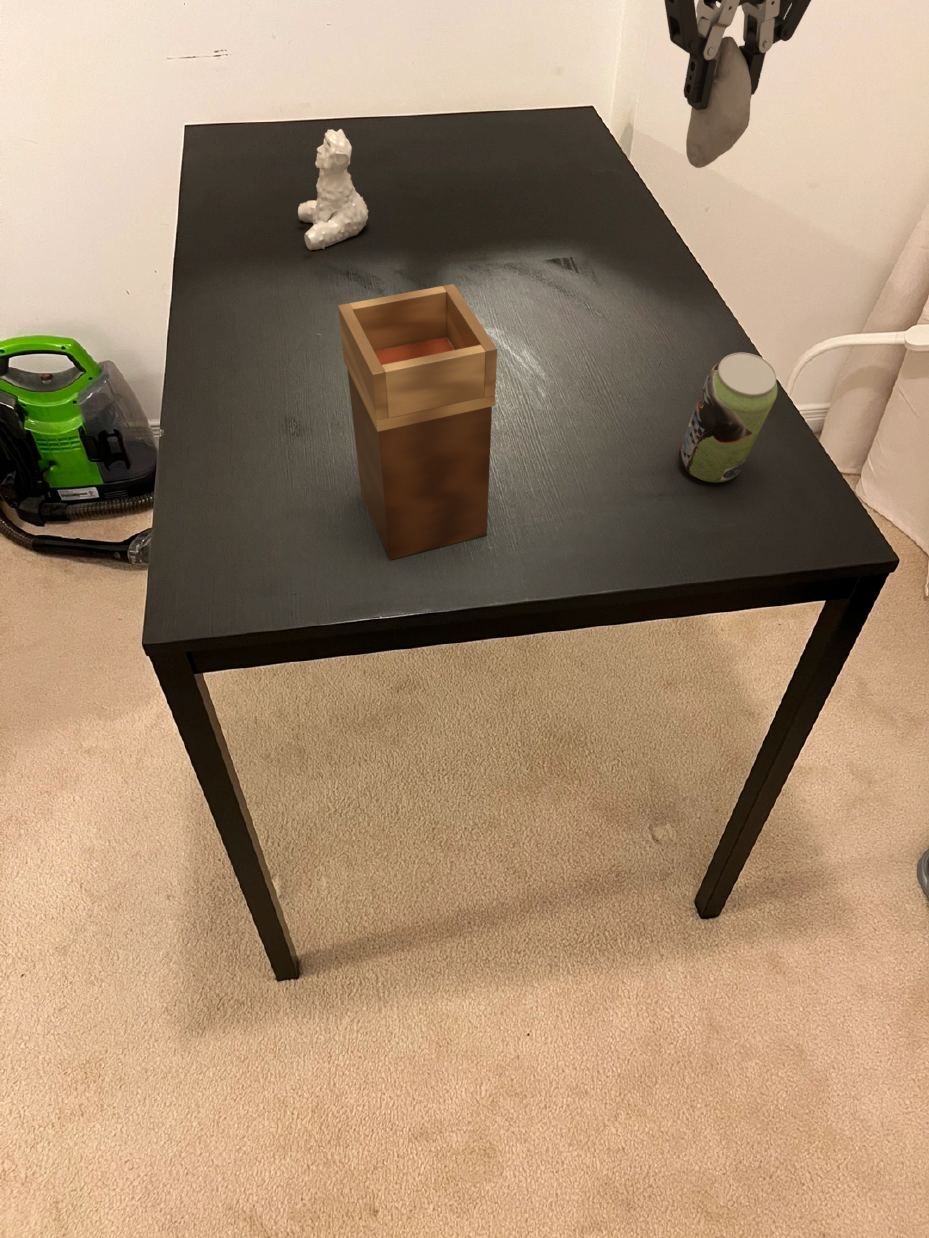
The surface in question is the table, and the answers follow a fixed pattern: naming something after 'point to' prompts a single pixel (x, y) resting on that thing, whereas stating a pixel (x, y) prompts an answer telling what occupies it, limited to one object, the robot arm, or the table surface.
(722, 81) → the fossil
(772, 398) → the beverage can
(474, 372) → the open wooden box
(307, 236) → the white creature statuette
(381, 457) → the plinth
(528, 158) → the table surface
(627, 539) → the table surface
